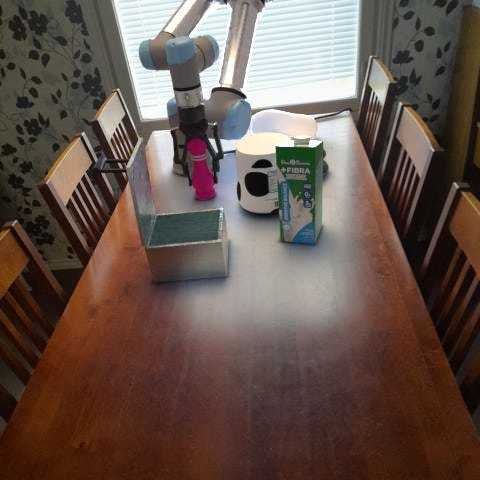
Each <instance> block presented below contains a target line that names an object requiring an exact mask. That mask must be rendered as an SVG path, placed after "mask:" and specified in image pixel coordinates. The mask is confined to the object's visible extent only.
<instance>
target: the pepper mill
mask: <svg viewBox="0 0 480 480" xmlns="http://www.w3.org/2000/svg"><path fill="white" fill-rule="evenodd" d="M187 148H188V151H189V152H190V156H191V159H192V160H193V163H194V172H193V175H192V176H191V177H192V186H191V187H192V188H193V189H194V190H195V191H194V195H195V198H196V199H197V200H200V201H207V200H208V201H209V200H211V199H213V198H214V197H215V196H216V194H217V193H216V188H215V185H216V184H215V180H214V174H213V171H212V170H211V171H210V169H209V167H208V165H207V160H206V158H207V156H208V155H207V151H206V149H207V148H206V143H205V142H203V141H202V140H201V138H192V139H190V141H189V143H188V144H187Z"/></svg>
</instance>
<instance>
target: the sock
mask: <svg viewBox="0 0 480 480" xmlns="http://www.w3.org/2000/svg"><path fill="white" fill-rule="evenodd" d="M314 118H315V117H313V116H311V115H308V114H307V115H306V114H300V113H291V112H287V111H282V110H278V109H266V110H261V111H259V112H256V113H254V114H253V115H251V122H250V126H249V129H248V131H249V133H250V134H251V135H253V134H259V133H271V132H272V133H281V134H284V135H287V136H288V137H290V138H291V140H293V137H294V136H310V140H314V141H316V137H317V135H318V130H319V129H318V128H319V127H318V123H317V120H315V119H314Z"/></svg>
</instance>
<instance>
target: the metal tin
mask: <svg viewBox="0 0 480 480" xmlns="http://www.w3.org/2000/svg"><path fill="white" fill-rule="evenodd" d="M144 252H145V256H146V259H147V262H148V263H147V264H148V266H149V269H150V273H151V276H152V279H153V282H154V283H165V282H166V283H167V282H179V281H189V280H201V279H212V278H213V279H214V278H223V277H224V278H225V277H228V265H229V264H228V262H229V260H228V259H229V235H228V227H227V221H226V215H225V208H224V207H212V208H202V209H193V210H182V211H171V212H160V213H155V215H154V219H153V222H152V225H151V229H150V232H149V236H148V239H147V243H146V246H144Z"/></svg>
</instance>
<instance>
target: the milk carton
mask: <svg viewBox="0 0 480 480" xmlns="http://www.w3.org/2000/svg"><path fill="white" fill-rule="evenodd" d="M323 148H324V141H323V140H314V141H310V136H294V137H293V140H286V141H284V142H282V143H280V144H278V145H277V146H275V149H276V167H277V185H278V203H279V212H278V221H279V237H280V238H279V239H280V242H287V243H288V242H289V243H298V244H309V245H316V242H317V240H318V237H319V234H320V231H321V229H322V226H323V186H324V185H323V181H324V174H323Z"/></svg>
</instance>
